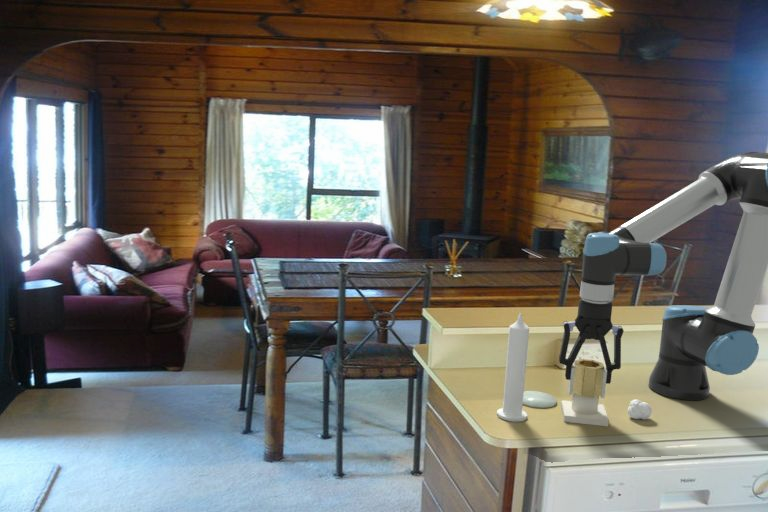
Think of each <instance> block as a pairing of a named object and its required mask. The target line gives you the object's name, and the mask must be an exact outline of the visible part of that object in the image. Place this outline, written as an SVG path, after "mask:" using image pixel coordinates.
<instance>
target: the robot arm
mask: <svg viewBox="0 0 768 512" xmlns="http://www.w3.org/2000/svg"><path fill="white" fill-rule="evenodd" d="M738 199H740V200H739V205H740V208H741V209H742V211H743V213H742V216H741V219H740V222H739V226H738V229H737V232H736V235H735V238H734V242H733V245H732V247H731V252H730V254H729V257H728V260H727V263H726V266H725V270H724V272H723V276H722V279H721V282H720V285H719V287H718V291H717V294H716V298H715V301H714V304H713V305H712V306H711V307H706V306H700V305H699V306H697V305H687V304H686V305H685V304H683V305H682V304H681V305H679V304H676V305H674V304H673V305H669V306H667V307H666V308H665V309H664V312H663V317H662V325H661V336H660V342H659V343H660V344H659V352H658V353H659V354H658V359H657V361H656V363H655V365H654V367H653V369H652V371H651V373H650V375H649V377H648V385H647V386H648V388H649V389H650V390H652V391H653V392H655V393H657V394H659V395H662V396H665V397H668V398H674V399H678V400H686V401H699V400H700V401H701V400H705V399H707V398H708V397H709V396H710V389H711V387H710V382H709V377H708V373H707V368H709V369H710V370H711V371H713V372H716V373H720V374H722V375H727V376H734V375H738V374H742V372H743V371H746V370H748V369H749V368H750V367H751V366H752V365H753V364H754V363H755V361H756V359H757V357H758V354H759V349H760V347H759V346H760V345H759V343H758V340H757V338H756V337H755V335H754V330H755V327H756V323H755V321H754V320H753V318H752V315H753V311H754V308H755V305H756V302H757V299H758V295H759V293H760V290H761V287H762V284H763V282H764V277H765V275H766V272H767V269H768V152H759V151H747V152H740V153H738V154H736V155H732V156H731V157H728V158H727V159H724V160H722V161H720V162H719V163H716V164H714V165H713V166H711V167H709V168H708V169H706V170H704V171H702V172H701V173H700V174H699V175H698V179H697V180H695V181H694V182H692V183H690V184H689V185H687V186H685V187H682V189H680V190H679V191H677V192H675V193H673V194H672V195H670V196H668V197H666V198H665V199H663V200H662V201H661V200H660V202H659V203H657V204H655V205H653V206H652V207H650V208H649V209H646V210H645V211H643V212H641V213H640V214H638V215H636V216H634V217H633V218H632V219H630V220H628V221H626V222H624V223H623V224H621V225H620V226H618V227H616V228H615V229H612V230H611V231H609V232H608V231H598V232H590V233H588V234H587V235H586V237H585V242H584V245H583V246H584V247H583V251H582V257H583V258H582V268H581V278H580V279H581V281H580V286H579V287H580V288H579V297H580V299H579V300H578V307H577V316H576V318H575V320H574V321H567V320H565V321H563V322H562V325H563V329H564V331H563V336H562V341H561V345H560V350H559V355H558V362H559V364H561V365H563V366H565V374H564V376H565V380H569V381H568V395H571V396H573V384H574V374H575V367H574V361H575V360H577V357H578V355H579V353H580V350H581V349H582V347H583V345H584V343H585V341H586V340H595V341H599V344H600V349H601V352H602V353H601V354H602V357H603V360H604V366H605V367H604V374H603V383H602V393H601V396H600V398H601V399H605V394H606V387H607V386H606V385H611V384H610V383H611V382H612V373H613V371H615V370H620V369H621V366H622V364H621V363H622V358H621V357H622V351H621V350H622V337H623V334H624V328H623V327H622V326H621V325H618V326H617V325H614V324H613V323H612V313H613V302H612V301H613V300H614V293H615V283H616V276H645V277H648V276H656V275H660V274H661V273H663V272H664V270H665V268H666V266H667V259H668V258H667V257H668V256H667V252H666V250H665V247H664V246H663V245H662V244H660V243H656V242H655V243H653V242H654V241H657V240H658V239H660V238H661V237H662V236H664V235H667V234H668V233H669V232H671V231H672V230H674V229H676V228H678V227H679V226H681V225H683V224H685V223H687V222H688V221H690V220H691V219H694V217H696V216H698V215H700V214H702V213H703V212H705V211H707V210H708V209H710V208H711V207H713V206H715V205H716V206H723V205H725V204H726V203H728V202H730V201H733V200H738ZM575 327H576V329H577V330H578V332H579V334H578V336H577V339H576V340H575V343H574V345H573V346H572V349H571V350H570V353H569V355H568V357H567V353H568V347H569V343H570V339H571V332H573V330H574V328H575ZM610 331H612V335H613V362H611V358H610V354H609V350H608V347H607V342H606V338H605V336H606V335H607V334H609V332H610ZM566 357H567V358H566Z"/></svg>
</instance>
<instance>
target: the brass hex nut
mask: <svg viewBox="0 0 768 512" xmlns="http://www.w3.org/2000/svg"><path fill="white" fill-rule="evenodd" d="M573 365H574V367H575V374H574V384H573V393H575V394H577V395H580V396H584V397H598V396H599V397H601V393H602V383H603V374H604V368H605V364H604V363H603V362H600V361H597V360H595V359H587V358H580V359H575V361H574V363H573Z"/></svg>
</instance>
